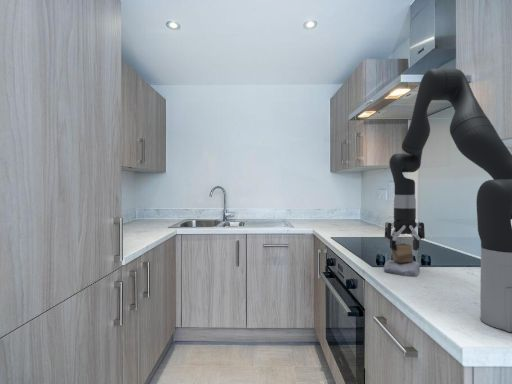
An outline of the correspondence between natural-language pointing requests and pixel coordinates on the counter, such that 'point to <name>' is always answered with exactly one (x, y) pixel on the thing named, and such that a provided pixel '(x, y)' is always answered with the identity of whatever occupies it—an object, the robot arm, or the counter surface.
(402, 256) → the walnut block
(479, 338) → the counter surface
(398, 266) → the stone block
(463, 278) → the counter surface
